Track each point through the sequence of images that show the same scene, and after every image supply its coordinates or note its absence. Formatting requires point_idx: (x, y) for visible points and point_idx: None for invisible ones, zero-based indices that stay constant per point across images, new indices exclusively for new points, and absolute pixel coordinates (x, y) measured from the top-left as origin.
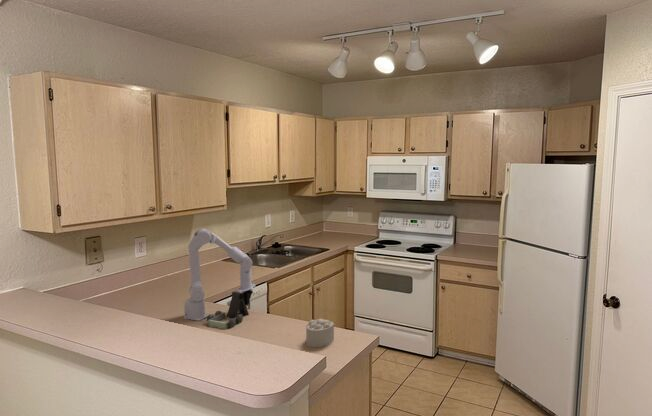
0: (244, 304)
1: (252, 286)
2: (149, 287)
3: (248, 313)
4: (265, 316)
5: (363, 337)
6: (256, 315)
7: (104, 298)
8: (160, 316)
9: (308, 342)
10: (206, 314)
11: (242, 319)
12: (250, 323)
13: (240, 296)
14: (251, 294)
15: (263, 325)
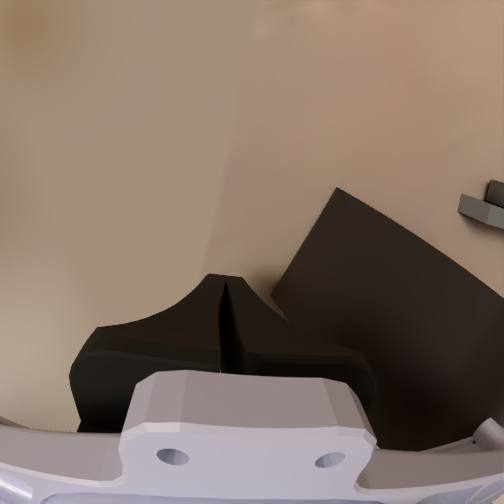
0: (447, 258)
1: (13, 473)
2: None
3: (343, 191)
4: (324, 4)
5: None
6: (325, 99)
7: None
8: None
9: None
10: (378, 448)
11: (495, 181)
12: (494, 103)
13: (493, 386)
14: (146, 322)
15: (490, 6)
